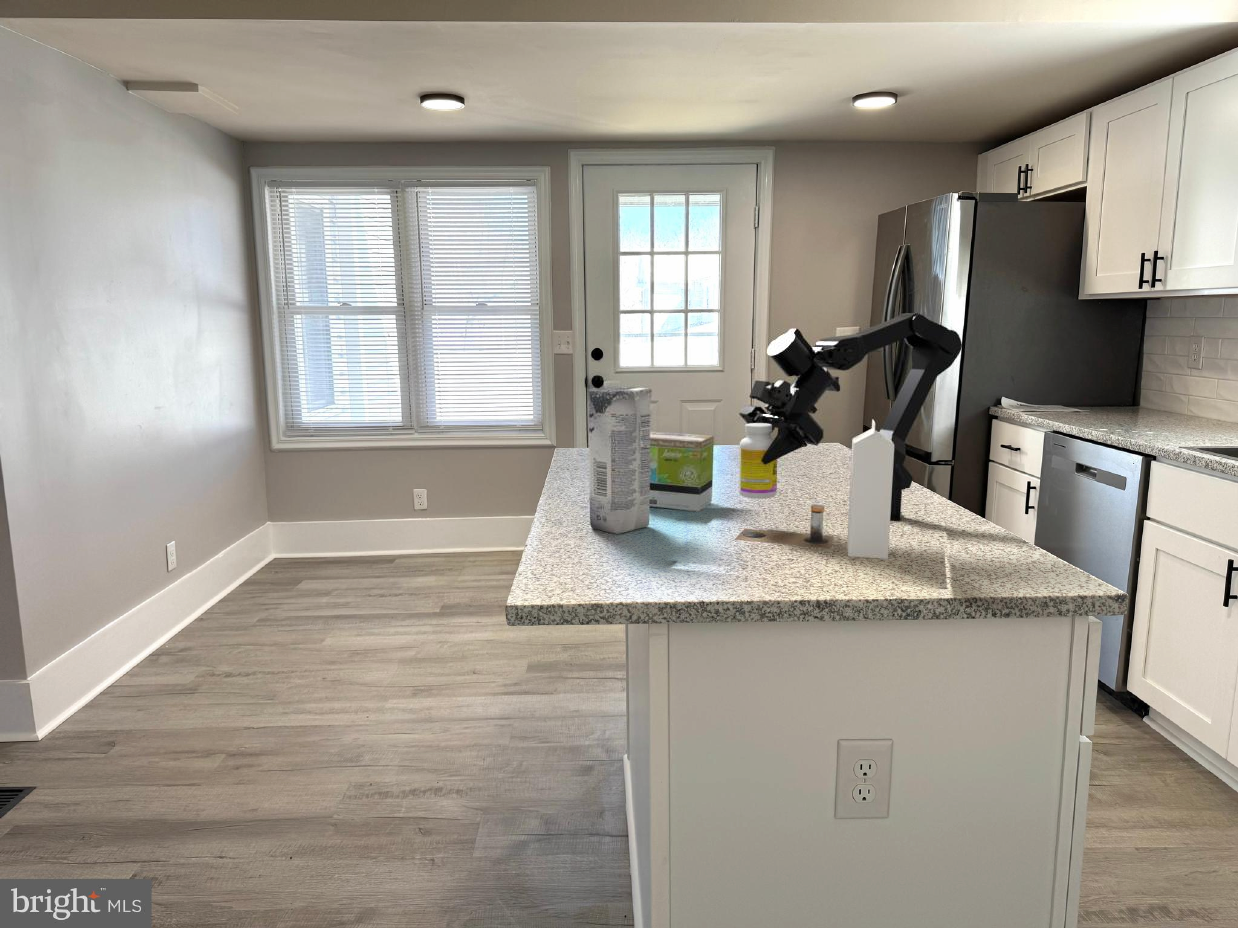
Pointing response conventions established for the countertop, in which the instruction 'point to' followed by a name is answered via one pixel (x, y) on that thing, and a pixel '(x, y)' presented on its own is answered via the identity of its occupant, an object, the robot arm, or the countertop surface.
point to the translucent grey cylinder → (816, 523)
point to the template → (783, 538)
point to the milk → (870, 495)
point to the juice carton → (619, 457)
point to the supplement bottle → (757, 463)
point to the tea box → (681, 470)
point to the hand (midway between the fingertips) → (751, 460)
